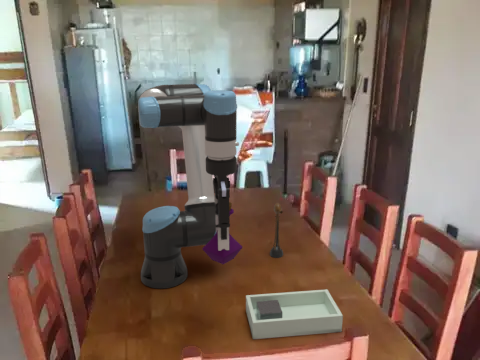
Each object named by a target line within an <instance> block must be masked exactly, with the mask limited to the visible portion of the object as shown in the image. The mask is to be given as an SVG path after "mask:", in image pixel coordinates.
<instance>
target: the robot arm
mask: <svg viewBox="0 0 480 360" xmlns="http://www.w3.org/2000/svg"><path fill="white" fill-rule="evenodd" d="M137 103H138V104H137V107H138V120H139V126H140V127H141V128H144V129H146V128H147V129H148V128H149V129H150V128H151V129H156V128H170V127H172V128H173V127H178V128H180V129H181V132H182V141H183V143H182V145H183V155H184V166H185V176H186V185H187V186H186V188H187V196H188V197H187V198H188V200H187V201H186V203H185V204H184V210H180V209H179V208H178V206H175V205H163V206H159V207H155V208H153V209H151V210H149V211H147V212H146V213H145V215H144V216H143V217H142V230H141V231H142V232H143V233H142V234H143V246H144V247H143V248H144V260H143V263H142V267H141V269H140V280H141V283H142V284H143V285H144V286H147V287H149V288H151V289H152V288H153V289H169V288H174V287H176V286H179V285H181V284H183V283H184V282H185V281H186V280H187V278H188V268H187V264H186V262H185V259H184V258H183V255H182V248H189V247H198V246H199V247H200V246H205V245H206V244H207V243H208V242H209V241H210V240H211V239H212V238H213V236H214V235H215V234H216V232H217V230H218V251H221V250H222V249H225V250H229V234H230V227H231V223H230V219H231V218H230V217H229V202H230V198H231V197H230V195H231V194H230V191H231V190H230V188H231V180H230V177H228V176H230V175H234V174H235V173H237V170H238V167H237V165H238V163H237V162H238V161H237V157H236V156H237V147H239V146H240V142H238V141H237V115H238V114H237V109H238V104H237V96H236V93H235V92H234V91H232V90H225V89H215V90H211V88H210V86H209V85H207V84H205V83H203V84H202V83H200V84H199V83H197V82H196V83H186V84H184V83H183V84H182V83H181V84H159V85H155V86H153V87H150V88H148V89H146V90H145V91H143V92H142V93H141V95H140V96H139V98H138V100H137ZM214 197H215V198H216V199H217V200H218V203H217V204H216V203H215V201H214Z"/></svg>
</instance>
